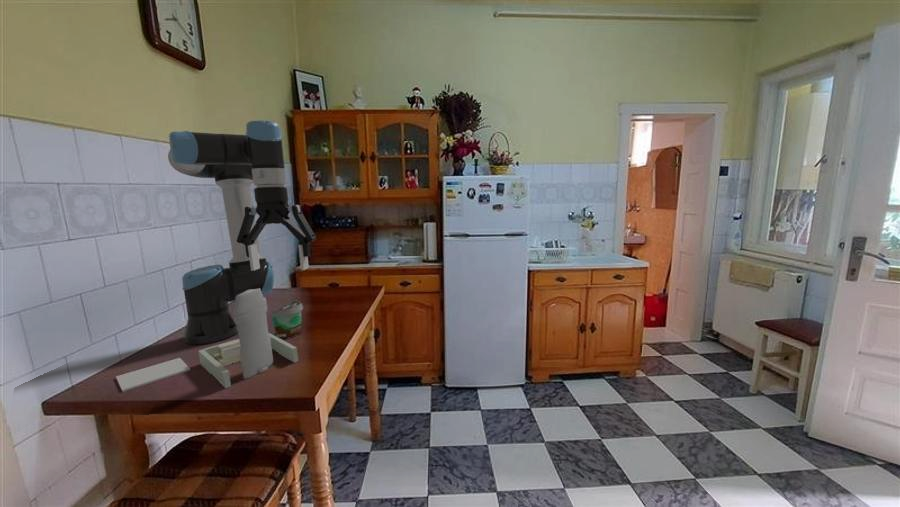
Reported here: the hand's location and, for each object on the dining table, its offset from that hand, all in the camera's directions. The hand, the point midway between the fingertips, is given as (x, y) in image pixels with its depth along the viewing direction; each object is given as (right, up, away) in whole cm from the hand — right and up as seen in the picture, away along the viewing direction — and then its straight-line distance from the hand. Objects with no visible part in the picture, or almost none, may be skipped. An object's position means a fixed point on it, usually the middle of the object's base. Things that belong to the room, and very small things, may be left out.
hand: (280, 269), depth 97 cm
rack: (-12, -26, +7) cm, 30 cm away
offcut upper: (-16, -24, +11) cm, 31 cm away
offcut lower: (-16, -26, +11) cm, 33 cm away
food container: (-8, -23, +27) cm, 37 cm away
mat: (-35, -28, +3) cm, 45 cm away
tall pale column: (-7, -27, +2) cm, 28 cm away
